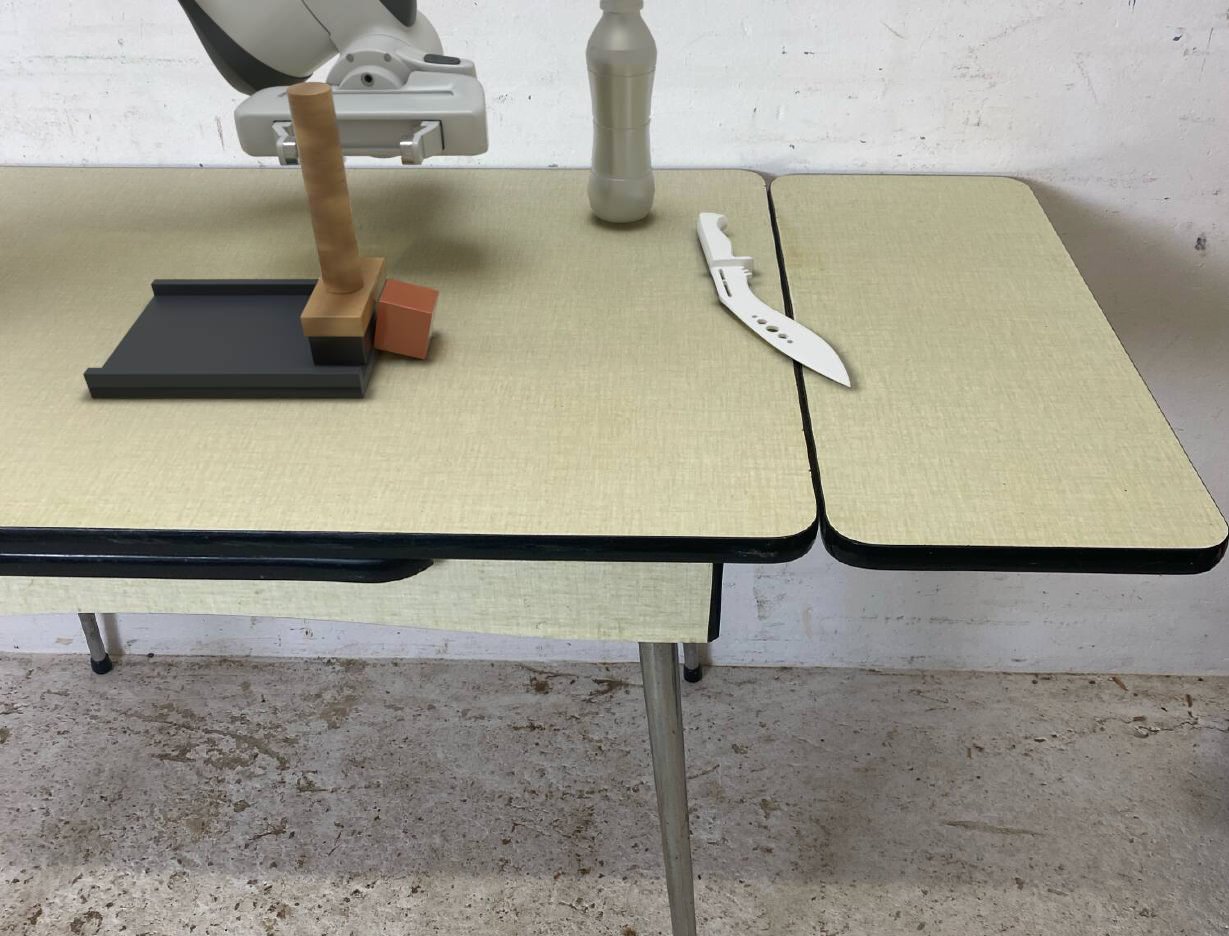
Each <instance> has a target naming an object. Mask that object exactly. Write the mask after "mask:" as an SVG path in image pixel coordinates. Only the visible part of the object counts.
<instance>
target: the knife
mask: <svg viewBox="0 0 1229 936" xmlns="http://www.w3.org/2000/svg"><path fill="white" fill-rule="evenodd" d="M695 225H696V232H697V235H698V238H699V241H700V244H701V247H702V250H703V254H704V257H705V260H706V263H707V266H708V269H709V273H710V275H711V277H712V278H713V281H714V284H715V288H716V289H717V294H718V299H719V301H720V302H721V303H722V304H723V305H724V306H726V307H727V308H728V309H729V310H730V311H731V312H732V313H733V314H734V315H735V316H737V318H738V319H740V320H741V321H742V322H743V323H744V324H745V325H746V326H748V327H749V328H750V329H751V330H753V332H755V333H756V334H758V335H759V336H760V337H761V338H762V339H764V340H766V342H767V343H769V344H770V345H771V346H773V347H774V348H776V349H778V350H779V351H780V352H782V353H784V354H785V355H787V356H789V357H790V358H792V359H793V360H795V361H796V362H799V363H800V364H802V365H804V366H806V367H808V368H809V369H812V371H815V372H817V373H819V374H821V375H823V376H825V377H827V378H829V379H831V380H833V381H835V382H837V383H839V384H841V385H844V386H846V387H848V388H851V381H850V377H849V374H848V372H847V370H846V368H845V365H844V363H843V362H842V360H841V358H840V356H839V355H838V354H837V353H836V352H835V350H834V349H833V347H832V346H831V345H830V344H829V343H827V342H826V340H825V339H823V338H822V337H821V336H819V335H818V334H816V333H814V331H812V330H810V329H809V328H807V327H805V326H804V325H802V324H801V323H799V322H798V321H795V320H793V319H792V318H790V317H788V316H786V315H785V314H783V313H781V312H779V311H777V310H776V309H773V308H772V307H770V306H768V305H767V304H765V303H764V302H763V301H761V300H760V299H759V298H758V297H757V296H756V295H754V293H753V292H752V291H751V288H750V286H749V284H748V280H749V279H752V278H753V271H754V268H755V267H754V266H755V261H754V258H753V257H752V256H750V255H746V256H734V248H733V244H732V242H731V241H730V239H729V238H728V236H727V235H726V234H725V233H724V231H725V230H726V229H727V228H728V226H729V221H728V218H727V217H726V215H724V214H719V213H714V212H700V213H699V215H698V216H697V218H696V220H695ZM722 278H723V279H722ZM726 289H727V290H726ZM727 292H728V293H727ZM769 330H776V331H774V332H773V331H769Z"/></svg>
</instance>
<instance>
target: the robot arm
mask: <svg viewBox="0 0 1229 936" xmlns="http://www.w3.org/2000/svg"><path fill="white" fill-rule="evenodd" d="M177 2H178V3H179V5H180V7H181V9H182V10H183V11H184V14H185V15H186V17H187V18H188V21H189V23H190V24H191V26H192V28H193V30H194V32H195V34H196V35H197V38H198V40H200V43H201V45H202V47H203V48H204V50H205V52H206V54H207V55H208V57H209V59H210V60H211V62H212V64H213V65H214V67H215V68H216V70H217V71H218V73H219V74H220V75H221V76H222V78H223V79H224V80H225V81H226V82H227V83H228V85H230V86H231V87H232V88H233V89H234V90H236V91H237V92H239V93H240V94H243V95H245V96H248V97H247V98H245V99H244V100H243V101H242V102H241V103H240V104H238V105H237V106H236V107H235V109H234V110H233V119H234V126H235V129H236V134H237V138H238V142H239V145H240V148H241V150H242V151H243V152H244V153H245V154H247V155H248V156H250V157H254V158H255V157H256V158H262V157H263V158H265V157H267V158H268V157H269V158H271V157H274V158H275V157H277V158H278V162H279V165H280V167H281V166H282V167H285V166H286V167H289V166H301V165H300V160H299V155H298V149H297V144H296V139H295V134H294V129H293V123H292V118H291V113H290V108H289V103H288V97H287V92H286V90H287V88H288V87H290V86H292V85H294V84H298V83H304V82H308V80H309V79H310V78H312V76H313V75H314V73H315V72H316V71H318V69H320V68H322V67H323V66H324V65H326V64H327V63H328V62H329V61H330V60H332V59H334V58H335V57H336V56H338V55H339V57H338V58H337V60H336V61H335V62H334V64H333V65H332V67H331V68H330V70H329V71H328V74H327V76H326V79H325V82H324V83H327V84H329V85H330V86H331V87H332V92H333V99H334V105H335V111H336V117H337V123H338V129H339V135H340V141H341V147H342V153H343V157H369V158H374V159H392V158H396V157H400V161H401V164H402V166H422V165H423V162H424V160H426V159H429V158H432V157H475V156H476V157H477V156H480V155H483V154H486V153H487V152H488V151H489V146H490V141H489V123H488V111H487V104H486V103H487V102H486V94H485V89H484V86H483V83H481V81H480V80H479V79H478V74H477V69H476V65H475V62H474V61H472V60H471V59H467V58H460V57H457V56H448V55H445V53H444V47H443V44H442V41H441V38H440V36H439V34H438V32H437V30H436V27H434V25H433V24H432V23H431V21H430V19H429V18H428V17H427V16H426V15H425V14H424V13H423V12H421V11H420V10H418V0H177Z"/></svg>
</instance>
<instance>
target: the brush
mask: <svg viewBox="0 0 1229 936" xmlns="http://www.w3.org/2000/svg"><path fill="white" fill-rule="evenodd" d="M286 92H287V97H288V103H289V108H290V113H291V118H292V123H293V129H294V134H295V139H296V144H297V149H298V155H299V160H300V165H299V166H300V171H301V175H302V180H303V185H304V191H305V196H306V200H307V207H308V211H309V216H310V222H311V227H312V232H313V237H314V242H315V248H316V252H317V258H318V263H319V269H320V273H321V275H320V276H319V278H318V279H319V281H318V283H317V285H316V287H315V289H314V291H313V293H312V295H311V297H310V299H309V301H308V303H307V305H306V307H305V309H304V311H303V313H302V315H301V317H300V318H301V323H302V327H303V332H304V336H305V337H308V339H309V344H310V349H311V353H312V358H313V363H314V365H366V364H367V362H368V359H369V357H370V354H371V351H372V349H373V346H374V338H375V330H376V321H377V313H378V305H379V300H380V297H381V295H382V292H383V290H384V287H385V280H386V279H388V272H387V265H386V260H385V259H386V258H385V257H361V256H360V250H359V243H358V238H357V233H356V226H355V219H354V213H353V207H352V201H351V194H350V189H349V183H348V177H347V172H346V166H345V165H346V164H345V158H344V156H343V153H342V147H341V141H340V135H339V129H338V123H337V117H336V111H335V105H334V99H333V92H332V87H331V86H330V85H329V84H327V83H325V82H322V81H306V82H304V83H298V84H294V85H292V86H290V87H288V88H287V90H286Z"/></svg>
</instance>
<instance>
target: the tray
mask: <svg viewBox="0 0 1229 936" xmlns="http://www.w3.org/2000/svg"><path fill="white" fill-rule="evenodd" d="M319 279H320V278H159V279H158V278H157V279H156V278H154V279H153V281H152V282H151V283H150V287H151V291H152V293H153V296H152V298H151V299H150V301H149V302H148V303H147V304H146V306H145V307H144V309H143V310H142V311H141V312H140V315H138V317H137V318H136V320H135V321H134V322H133V324H132V325H131V326H130V328H129V329H128V331H127V332H126V334H125V335H124V336H123V337H122V339H121V340H120V341H119V342H118V345H117V346H116V347H115V348H114V349H113V352H111V354H110V355H109V357H108V358H107V359H106V360H105V362H104V364H103V365H102V366H101V367H87V368H86V370H85V371H84V372H83V373H82V374H83V378H84V381H85V383H86V386H87V388H88V389H87V390H88V392H89V394H90V397H91V398H92V399H333V398H334V399H363V398H364V396H365V393H366V390H367V387H368V384H369V381H370V379H371V376H372V372H373V371H374V367H375V365H376V361H377V359H378V356H379V352H380V350H381V349H377V348H374V347H373V349H372V351H371V354H370V357H369V359H368V362H367V364H366V365H314V363H313V358H312V353H311V349H310V344H309V339H308V337H305V336H304V332H303V327H302V323H301V318H300V317H301V315H302V313H303V311H304V309H305V307H306V305H307V303H308V301H309V299H310V297H311V295H312V293H313V291H314V289H315V287H316V285H317V283H318V281H319ZM387 279H388V278H386V280H385V284H386V282H387ZM392 279H393V280H395V279H394V278H392Z"/></svg>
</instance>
